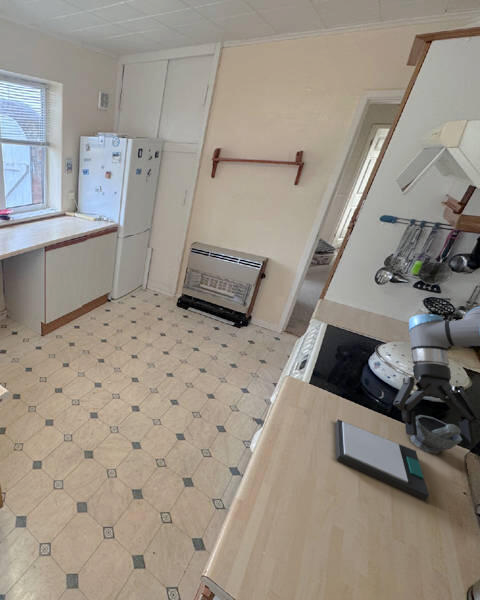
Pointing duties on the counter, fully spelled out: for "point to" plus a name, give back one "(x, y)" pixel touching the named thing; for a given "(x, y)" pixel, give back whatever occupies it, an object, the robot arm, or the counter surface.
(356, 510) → the counter surface
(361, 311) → the counter surface
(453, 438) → the mortar and pestle
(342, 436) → the kitchen scale
